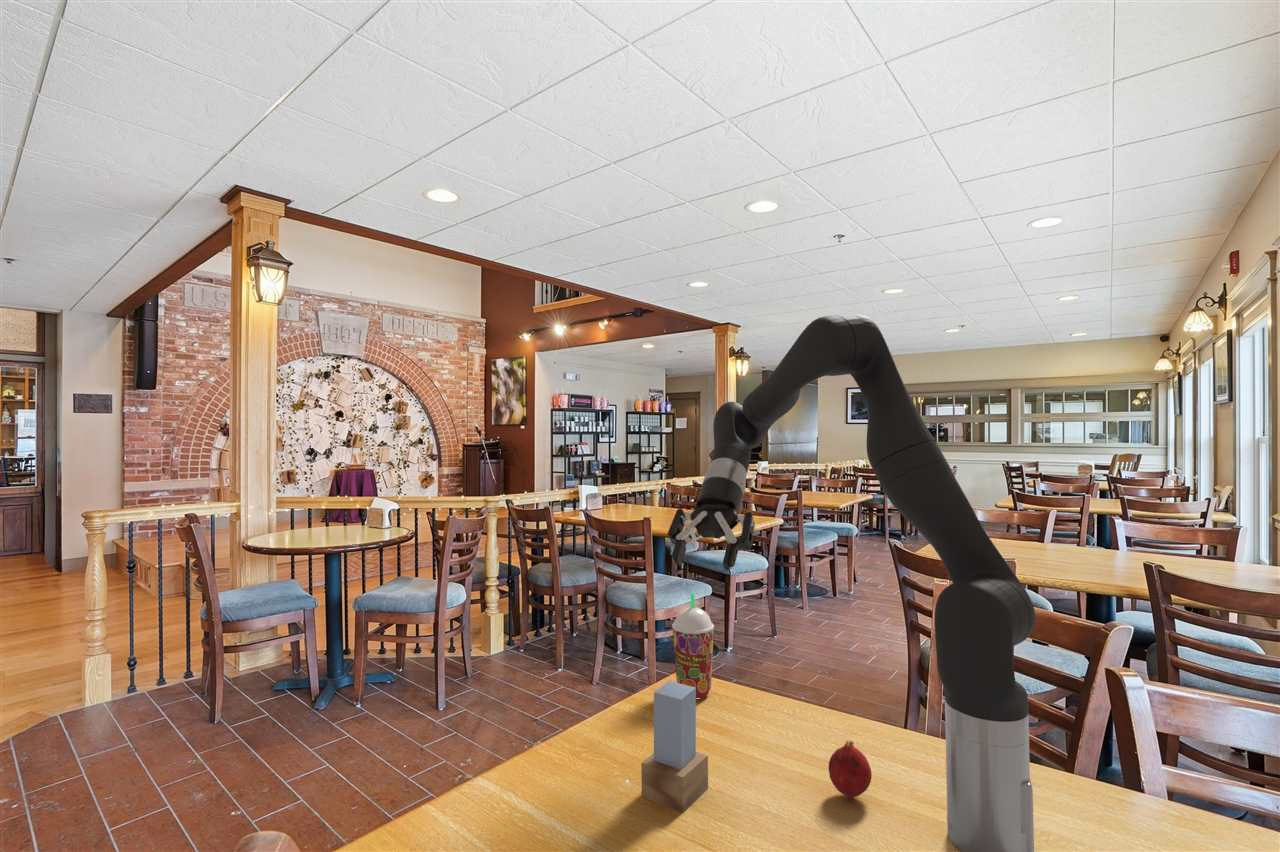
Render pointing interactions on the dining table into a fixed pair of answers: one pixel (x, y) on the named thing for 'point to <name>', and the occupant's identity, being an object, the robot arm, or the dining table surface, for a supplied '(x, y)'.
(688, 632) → the smoothie
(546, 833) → the dining table surface
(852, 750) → the onion
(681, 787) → the walnut block
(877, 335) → the robot arm
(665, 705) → the pillar
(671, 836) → the dining table surface
